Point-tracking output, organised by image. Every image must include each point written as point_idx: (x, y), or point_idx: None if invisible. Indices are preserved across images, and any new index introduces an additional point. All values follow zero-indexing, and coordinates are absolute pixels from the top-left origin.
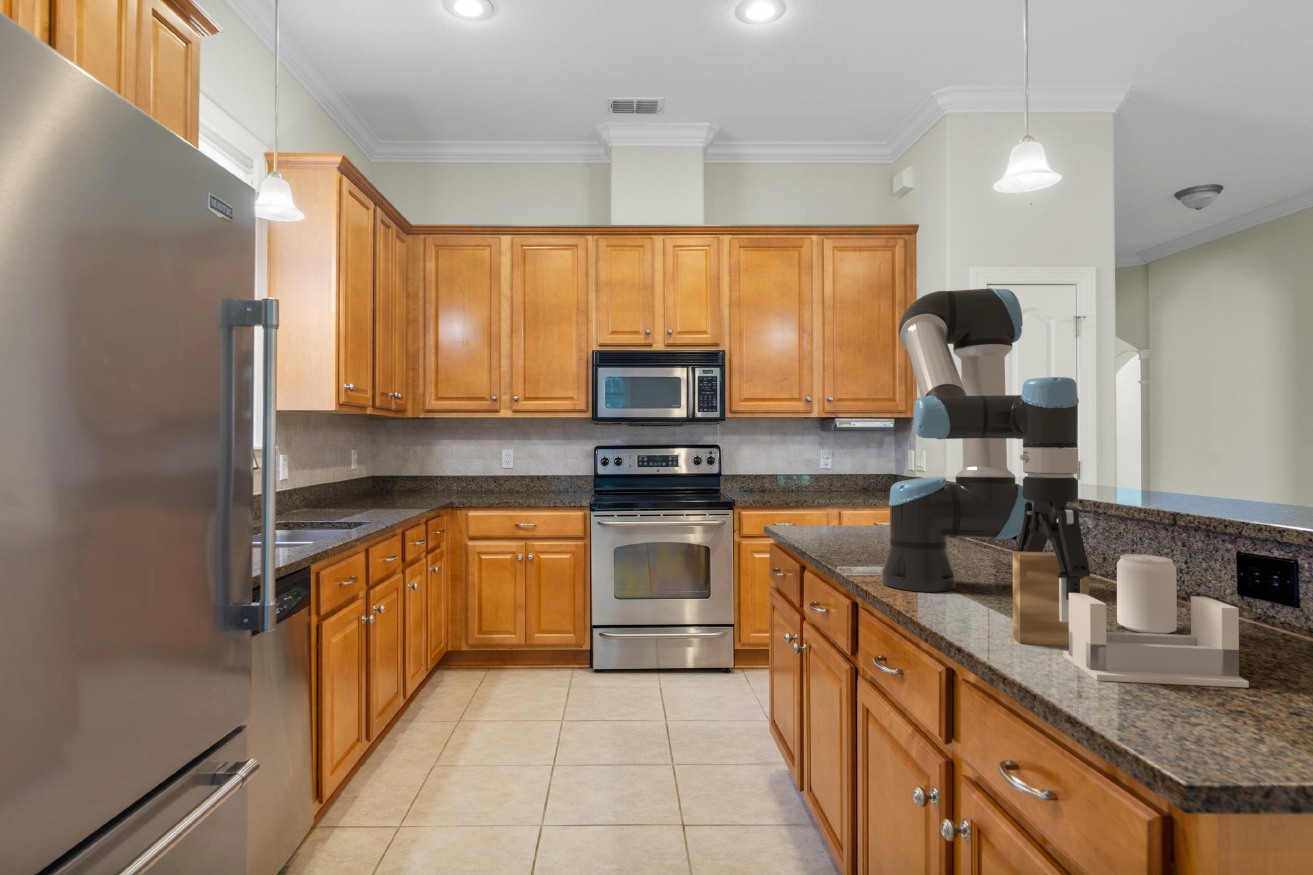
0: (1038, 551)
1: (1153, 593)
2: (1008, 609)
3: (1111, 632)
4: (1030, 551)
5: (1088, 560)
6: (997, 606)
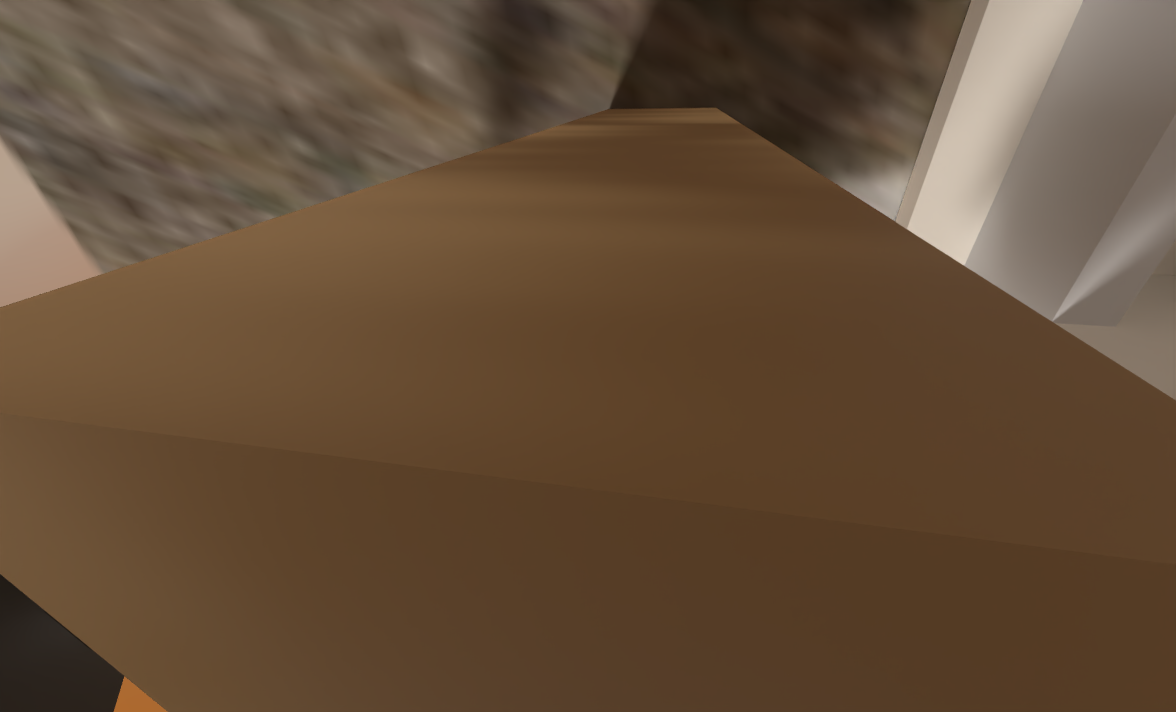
0: (7, 659)
1: None
2: (149, 230)
3: (1170, 137)
4: (83, 707)
5: (1056, 363)
6: (125, 257)
